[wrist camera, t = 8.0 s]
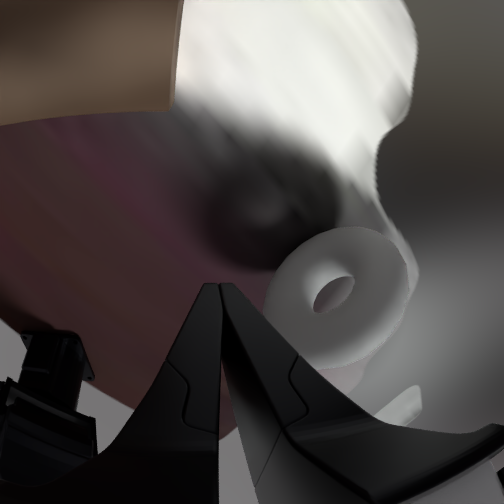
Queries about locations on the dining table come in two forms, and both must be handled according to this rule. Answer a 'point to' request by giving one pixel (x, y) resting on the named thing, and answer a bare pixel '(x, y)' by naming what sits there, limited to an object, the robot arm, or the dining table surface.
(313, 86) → the dining table surface
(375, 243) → the donut
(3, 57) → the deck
